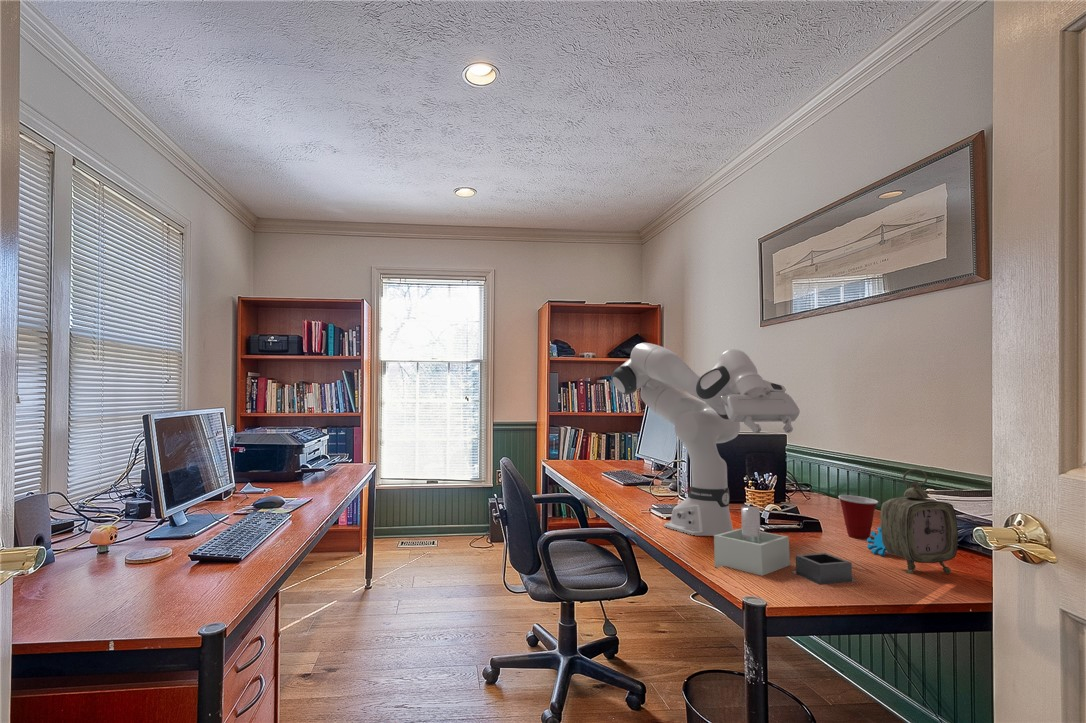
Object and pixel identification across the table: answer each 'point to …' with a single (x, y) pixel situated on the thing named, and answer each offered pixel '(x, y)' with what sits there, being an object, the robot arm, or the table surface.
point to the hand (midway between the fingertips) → (773, 431)
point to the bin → (751, 552)
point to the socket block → (823, 568)
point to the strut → (750, 524)
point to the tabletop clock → (919, 527)
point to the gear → (877, 543)
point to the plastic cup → (858, 515)
